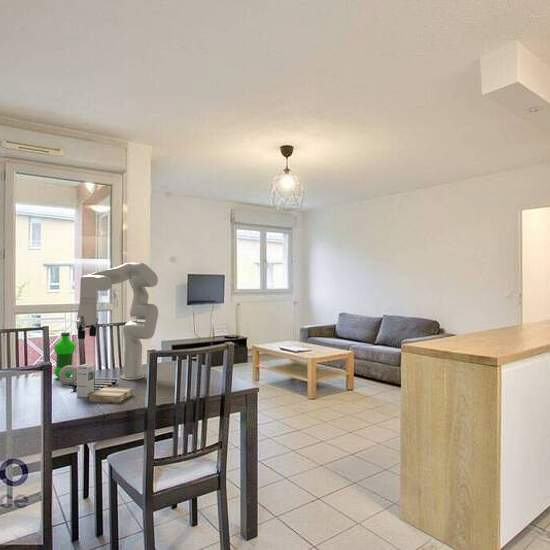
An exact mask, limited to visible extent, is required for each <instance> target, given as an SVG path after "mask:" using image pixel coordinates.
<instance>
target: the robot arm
mask: <svg viewBox="0 0 550 550" xmlns="http://www.w3.org/2000/svg"><path fill="white" fill-rule="evenodd" d="M126 281H128V282H129V285H130V287H131V289H132V292H133V297H132V302H131V307H130V311H129V316H130V318H131V319H133V320H136V321H128V322H126V323H125V324H124V325H123V328H122V334H123V338H124V341H123V342H124V352H123V353H124V356H123V359H124V360H123V374H122V375H120V379H122V380H127V381H135V380H141V379H143V378H145V374H144V373H142V371H144V368H143V367H142V365H143V362H142V361H143V343H142V341H141V340H151V339H152V338H153V337H154V335H155V332H156V327H157V323H158V317H159V307H158V306H157V305H156V304H154V303H149V299H150V298H149V292H148V291H147V289H146V288H154V287H156V286H157V285H158V283H159V278H158V275H157V273H156V272H155V271H154V270H153V269H151V267H149V265H147V264H146V263H144V262H125V263H124V264H121V265H118V266H117V267H113V268H108V269H104V270H99V271H95V272H93V273H90V274H87V275H82V276H81V277H80V284H79V286H80V287H79V304H78V311H77V315H76V316H77V318H76V322H75V323H76V328H77V329H76V330H77V339H78V340H85V339H86V330H85V329H86V327H89V328H88V331H89V332H88V335H89V337H96V336H97V328H98V322H99V318H98V307H97V304H98V292H106V291H110V289H112V287H113V285H118V284H121V283H123V282H126ZM137 320H139V321H137Z"/></svg>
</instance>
